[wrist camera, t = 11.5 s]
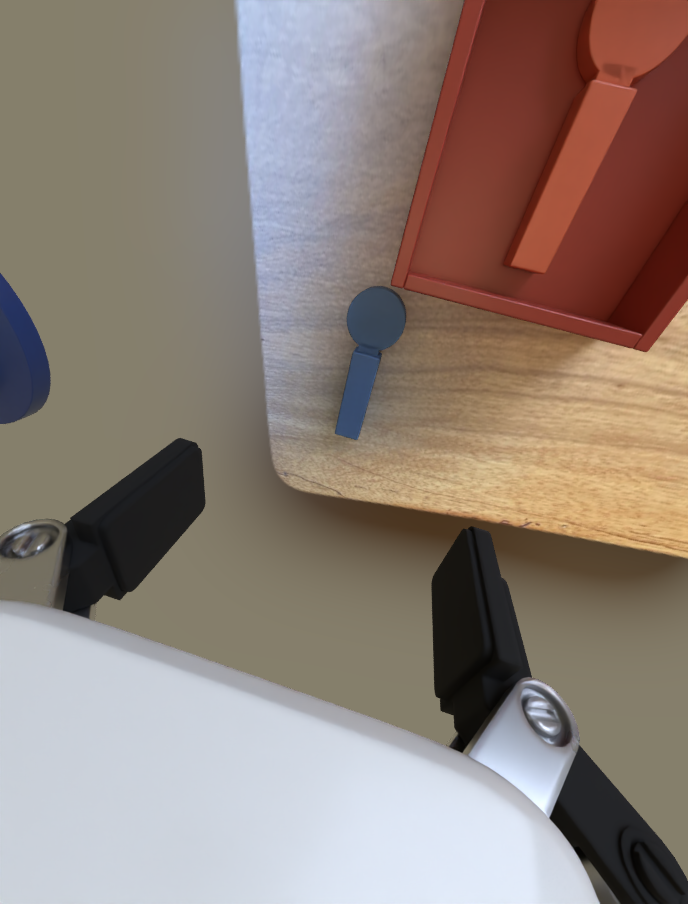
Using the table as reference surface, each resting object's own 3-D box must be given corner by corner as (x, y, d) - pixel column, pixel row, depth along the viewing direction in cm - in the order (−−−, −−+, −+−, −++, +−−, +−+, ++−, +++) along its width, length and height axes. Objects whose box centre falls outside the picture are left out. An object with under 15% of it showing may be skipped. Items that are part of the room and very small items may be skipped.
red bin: (394, 280, 16) (390, 285, 13) (511, -159, 10) (552, -339, 7) (605, 335, 16) (647, 352, 13) (889, -90, 9) (1114, -253, 6)
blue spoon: (371, 434, 22) (368, 444, 20) (327, 421, 22) (322, 430, 21) (414, 294, 17) (413, 297, 15) (356, 279, 17) (352, 281, 16)
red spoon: (551, 277, 15) (563, 279, 13) (485, 261, 15) (491, 261, 14) (720, -47, 10) (761, -89, 8) (616, -67, 10) (643, -110, 9)
